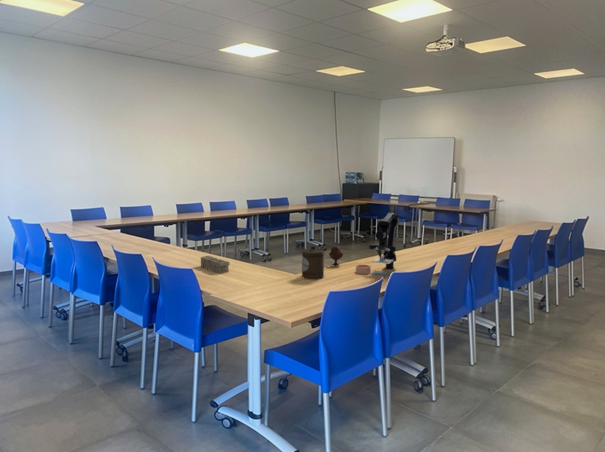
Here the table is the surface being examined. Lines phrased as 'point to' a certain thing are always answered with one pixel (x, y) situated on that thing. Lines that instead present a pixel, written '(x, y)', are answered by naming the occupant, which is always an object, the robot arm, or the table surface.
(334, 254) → the brown egg chair
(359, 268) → the bowl
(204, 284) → the table surface
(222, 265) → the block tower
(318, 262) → the wooden container
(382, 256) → the lid
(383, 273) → the mat
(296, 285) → the table surface
